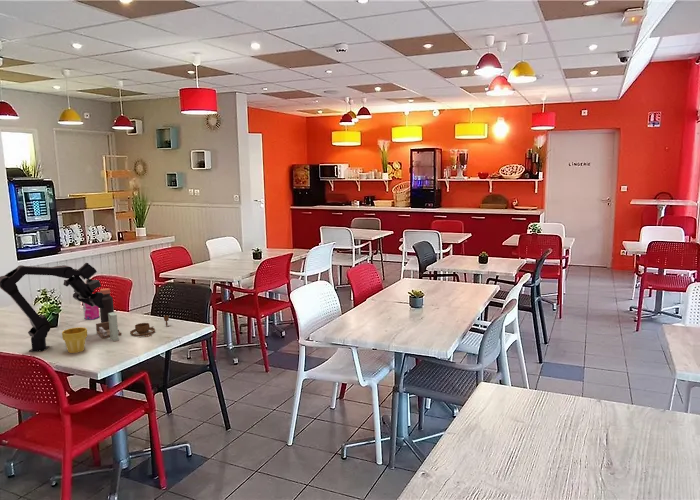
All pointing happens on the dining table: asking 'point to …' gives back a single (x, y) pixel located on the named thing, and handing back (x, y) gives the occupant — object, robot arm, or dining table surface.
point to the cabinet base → (104, 330)
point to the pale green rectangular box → (113, 326)
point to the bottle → (106, 305)
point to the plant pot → (75, 339)
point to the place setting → (145, 328)
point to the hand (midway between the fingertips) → (98, 307)
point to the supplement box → (90, 311)
